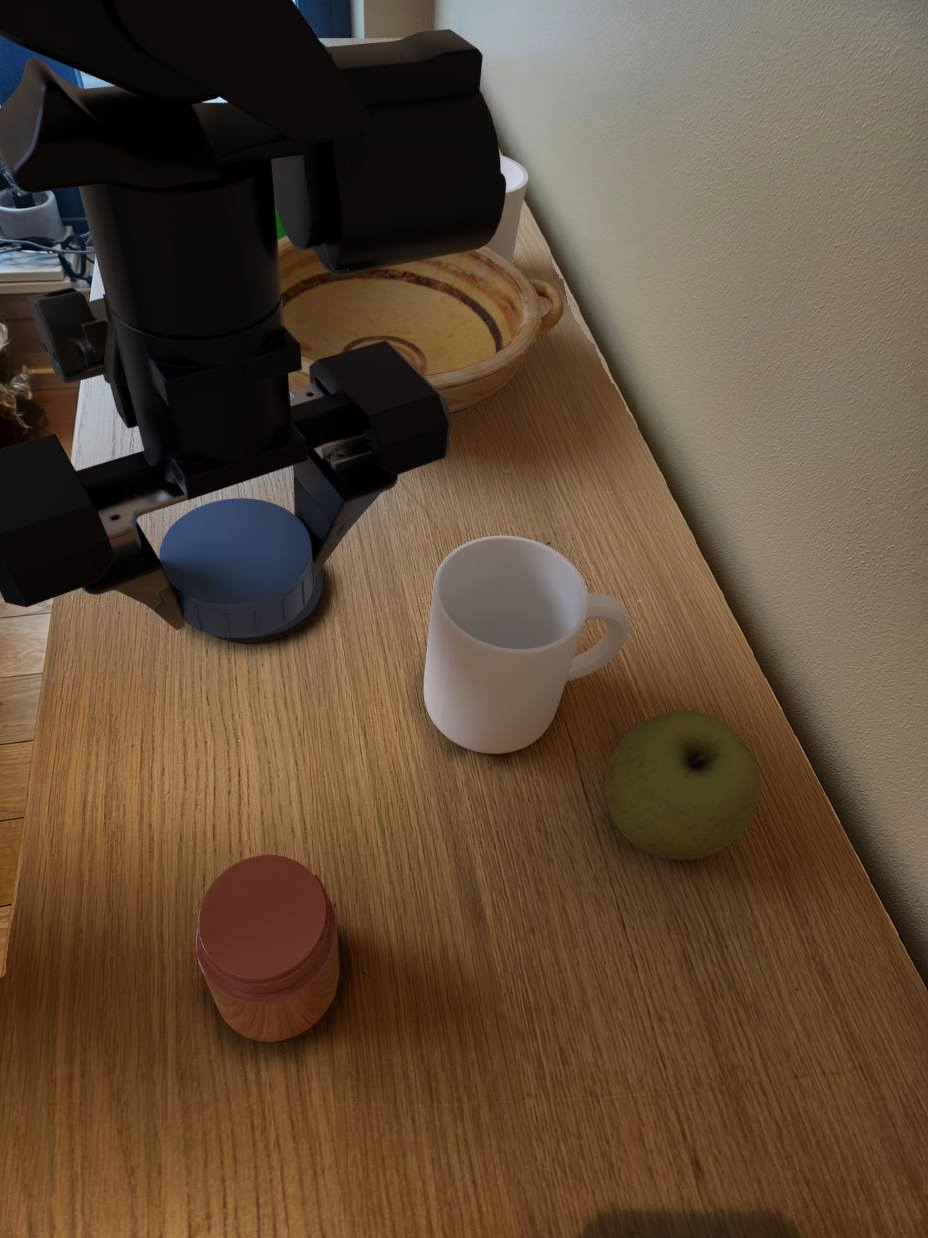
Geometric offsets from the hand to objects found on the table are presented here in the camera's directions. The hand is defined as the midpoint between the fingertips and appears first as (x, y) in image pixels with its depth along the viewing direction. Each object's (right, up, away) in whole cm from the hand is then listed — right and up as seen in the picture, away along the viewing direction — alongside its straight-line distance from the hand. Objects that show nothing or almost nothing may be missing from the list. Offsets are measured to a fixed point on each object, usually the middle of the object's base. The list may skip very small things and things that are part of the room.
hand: (244, 595), depth 41 cm
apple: (+22, -13, +8) cm, 26 cm away
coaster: (-3, +1, +16) cm, 16 cm away
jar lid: (0, +2, -2) cm, 3 cm away
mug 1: (+10, +32, +44) cm, 56 cm away
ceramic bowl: (+4, +19, +32) cm, 38 cm away
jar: (+1, -18, +1) cm, 18 cm away
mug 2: (+14, -6, +13) cm, 20 cm away
